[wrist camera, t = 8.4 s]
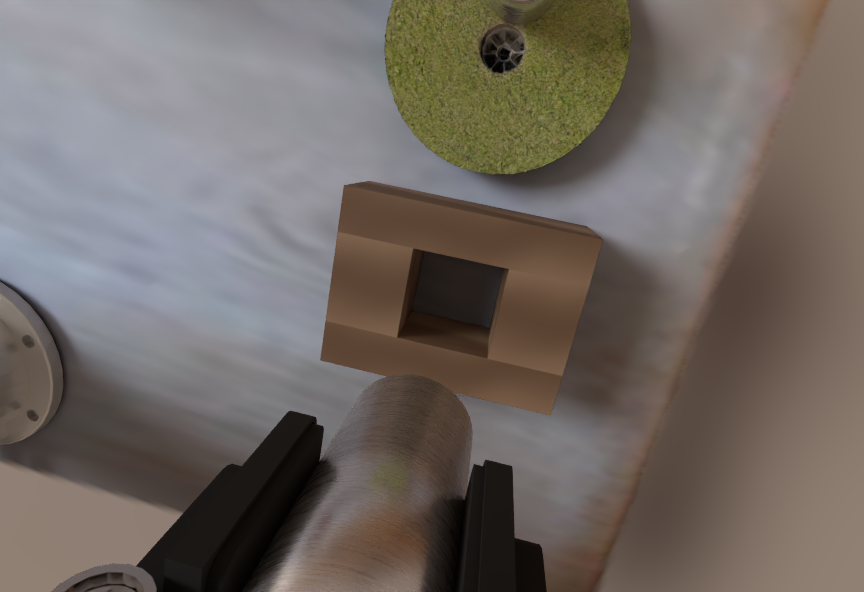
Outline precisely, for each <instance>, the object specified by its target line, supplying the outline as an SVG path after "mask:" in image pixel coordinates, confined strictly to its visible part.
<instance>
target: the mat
mask: <svg viewBox="0 0 864 592" xmlns="http://www.w3.org/2000/svg"><path fill="white" fill-rule="evenodd" d="M627 2H628V1H627V0H554V1H553V3H552V5H551V6H550V7H549V9H548V10H547V11H546V12H545V13H544V14H543V15H542V16H541V17H539V18H538V19H536V20H534V21H532V22H529V23H524V24H513V23H509V22H507V21H505V20H503V19H501V18H500V17H499V16H497V15H496V13H495V12H494V11H493V10H492V8H491V6H490V4H489V2H488V0H393V2H392V7H391V9H390V13H389V17H388V21H387V28H386V34H385V40H386V42H385V56H386V58H385V60H386V62H385V63H386V72H387V76H388V80H389V85H390V89H391V91H392V94H393V97H394V101H395V103H396V105H397V107H398V110H399V112H400V113H401V116H402V118H403V119H404V121H405V122H406V124H407V125H408V127H409V128H410V129H411V130H412V132H413V133H414V135H415V136H416V137H417V138H418V139H419V140H420V141H421V142H422V143H423V144H424V145H425V146H426V147H428V148H429V149H430V150H431V151H432V152H434V153H435V154H436V155H437V156H440V157H441V158H442V159H444V160H446V161H447V162H449V163H451V164H454V165H457V166H459V167H461V168H464V169H467V170H470V169H471V170H472V171H474V172H483V173H487V174H493V175H494V174H515V173H521V172H523V171H524V172H526V171H528V170H532V169H536V168H540V167H542V166H544V165H546V164H548V163H551V162H553V161H555V160H557V159H559V158H560V157H562V156H564V155H565V154H567V153H568V152H570V151H571V150H572V149H574V148H575V147H576V146H578V145H580V144H581V141H582V140H584V139H585V138H587V137H588V135H589V134H590V133H591V132H593V131H594V130H595V128H596V126H597V125H599V123H600V122H601V120H602V119H603V118H604V116H605V115H606V113H607V111H608V110H609V108H610V106H611V104H612V101H613V100H614V98H615V97H616V95H617V93H618V91H619V89H620V87H621V82H622V80H623V78H624V76H625V71H626V67H627V63H628V62H627V61H628V60H629V50H630V41H631V34H630V31H631V21H630V13H629V5H628V4H627Z"/></svg>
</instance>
